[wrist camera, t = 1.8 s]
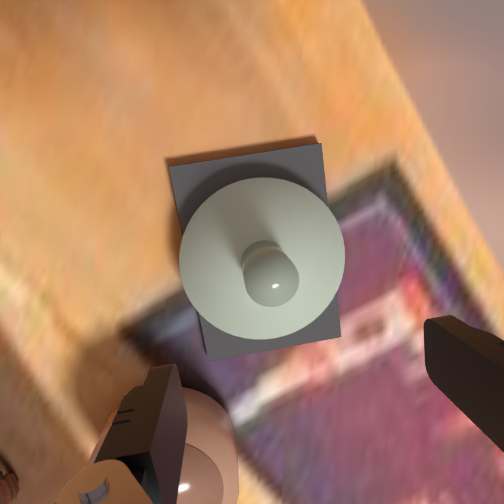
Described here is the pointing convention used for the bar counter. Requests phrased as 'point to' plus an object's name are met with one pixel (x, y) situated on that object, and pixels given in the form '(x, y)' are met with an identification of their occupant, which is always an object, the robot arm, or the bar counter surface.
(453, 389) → the robot arm
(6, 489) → the pottery mug
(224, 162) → the mat
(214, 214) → the lid
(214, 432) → the bowl
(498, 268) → the bar counter surface
